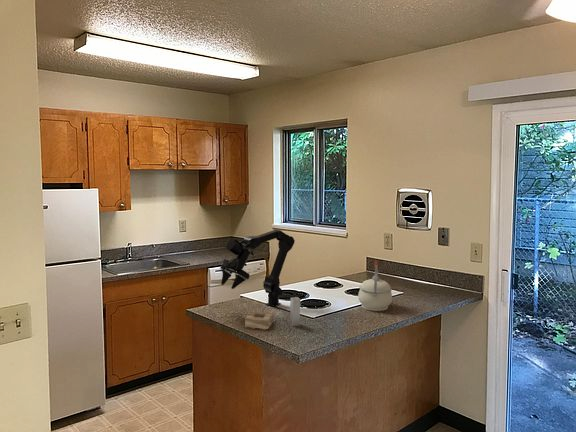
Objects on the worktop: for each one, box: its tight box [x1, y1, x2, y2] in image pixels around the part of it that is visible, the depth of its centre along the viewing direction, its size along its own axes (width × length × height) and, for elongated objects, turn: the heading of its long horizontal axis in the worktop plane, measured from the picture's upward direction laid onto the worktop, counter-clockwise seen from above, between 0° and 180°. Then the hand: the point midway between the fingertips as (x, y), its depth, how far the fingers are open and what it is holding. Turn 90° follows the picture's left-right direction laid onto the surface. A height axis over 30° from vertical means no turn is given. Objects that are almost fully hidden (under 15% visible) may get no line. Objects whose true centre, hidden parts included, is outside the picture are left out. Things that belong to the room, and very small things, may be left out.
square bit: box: [289, 296, 301, 327], centre depth 225 cm, size 4×4×13 cm
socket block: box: [244, 310, 274, 330], centre depth 224 cm, size 11×11×4 cm
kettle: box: [357, 259, 393, 312], centre depth 258 cm, size 25×18×25 cm
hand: (226, 286), depth 236 cm, fingers open, 9 cm apart
